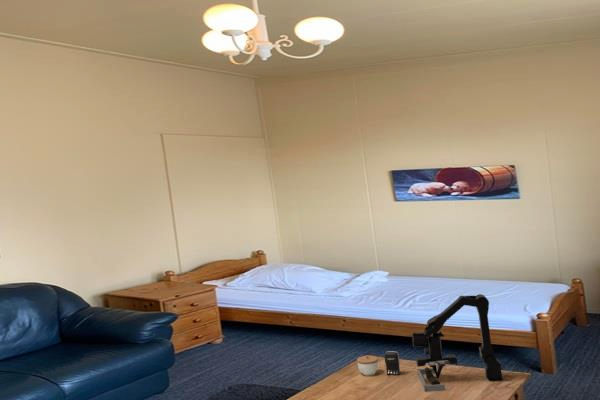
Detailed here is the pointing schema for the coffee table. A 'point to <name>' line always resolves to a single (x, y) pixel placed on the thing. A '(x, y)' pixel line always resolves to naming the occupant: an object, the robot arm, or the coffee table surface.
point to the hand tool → (431, 377)
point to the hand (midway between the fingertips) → (437, 378)
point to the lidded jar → (368, 365)
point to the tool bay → (429, 387)
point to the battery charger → (392, 363)
